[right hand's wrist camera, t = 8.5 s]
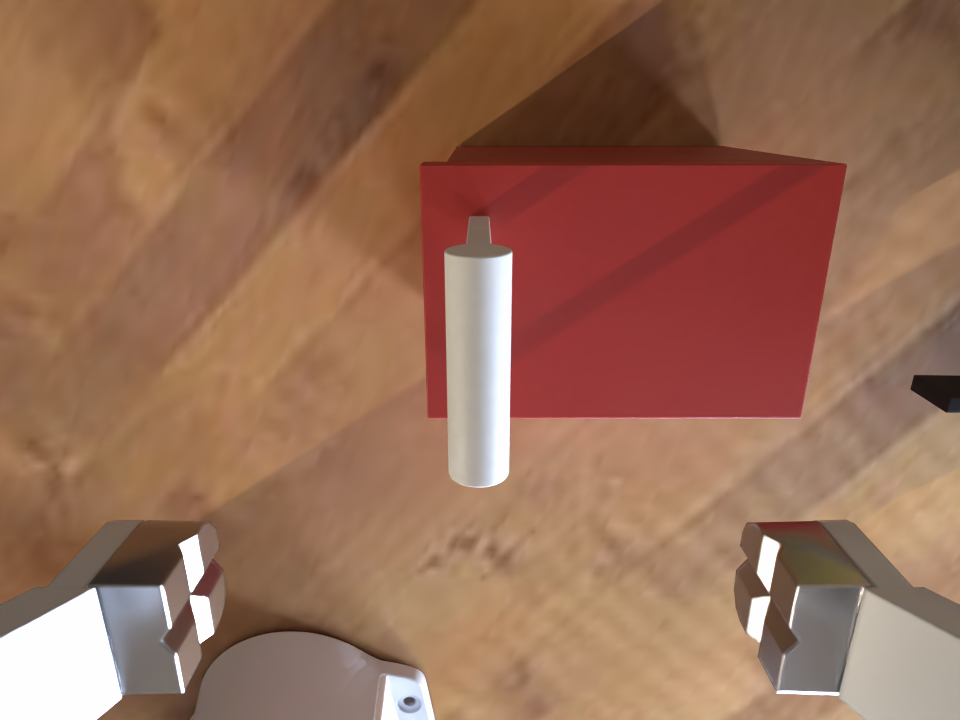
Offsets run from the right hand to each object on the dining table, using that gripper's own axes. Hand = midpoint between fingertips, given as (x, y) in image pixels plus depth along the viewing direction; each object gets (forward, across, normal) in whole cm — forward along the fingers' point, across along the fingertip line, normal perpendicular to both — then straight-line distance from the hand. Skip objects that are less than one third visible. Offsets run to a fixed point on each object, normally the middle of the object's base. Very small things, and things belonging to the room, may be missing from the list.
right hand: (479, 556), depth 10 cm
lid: (+16, -5, 0) cm, 17 cm away
